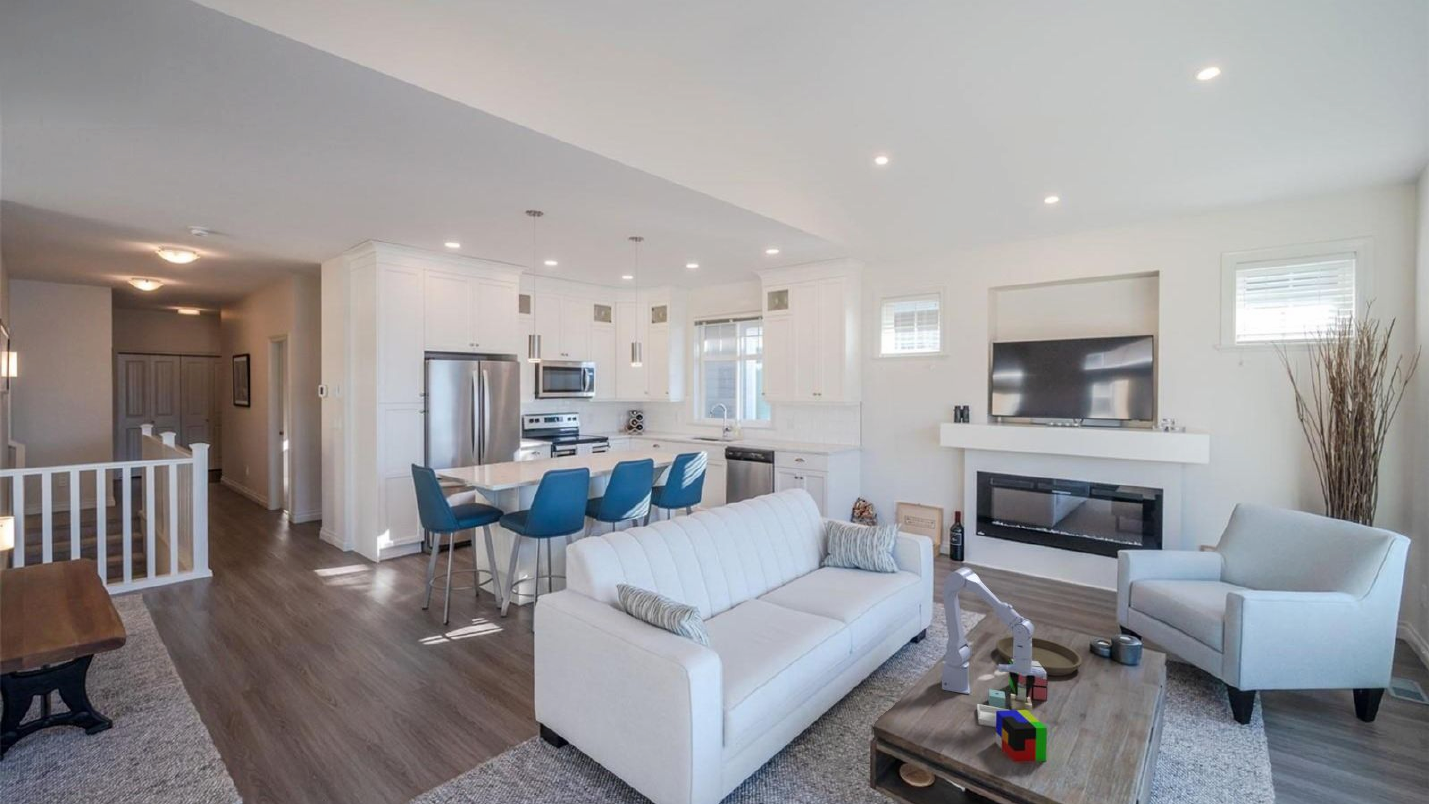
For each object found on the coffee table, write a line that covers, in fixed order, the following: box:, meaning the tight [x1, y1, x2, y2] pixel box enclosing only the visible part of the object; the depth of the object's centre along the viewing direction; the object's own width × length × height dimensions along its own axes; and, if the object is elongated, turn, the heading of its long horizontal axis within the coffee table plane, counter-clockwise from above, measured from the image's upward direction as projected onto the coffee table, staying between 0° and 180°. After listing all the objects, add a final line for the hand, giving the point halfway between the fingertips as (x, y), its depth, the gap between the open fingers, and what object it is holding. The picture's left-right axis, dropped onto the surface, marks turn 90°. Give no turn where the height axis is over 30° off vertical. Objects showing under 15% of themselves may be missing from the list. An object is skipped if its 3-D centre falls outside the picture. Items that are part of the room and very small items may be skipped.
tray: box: [976, 703, 1010, 728], centre depth 202 cm, size 10×10×2 cm
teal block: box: [988, 688, 1006, 709], centre depth 212 cm, size 5×5×4 cm
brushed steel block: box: [1017, 683, 1026, 703], centre depth 208 cm, size 3×3×8 cm
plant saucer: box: [995, 635, 1083, 677], centre depth 247 cm, size 31×31×5 cm
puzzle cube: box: [1008, 659, 1049, 701], centre depth 220 cm, size 10×10×10 cm
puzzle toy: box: [995, 709, 1048, 763], centre depth 184 cm, size 10×10×10 cm
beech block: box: [1010, 693, 1033, 715], centre depth 208 cm, size 6×6×4 cm
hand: (1021, 695), depth 208 cm, fingers closed on brushed steel block, 2 cm apart
